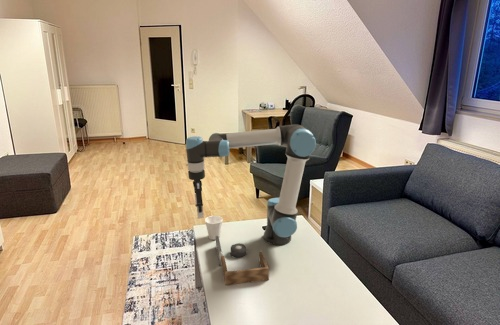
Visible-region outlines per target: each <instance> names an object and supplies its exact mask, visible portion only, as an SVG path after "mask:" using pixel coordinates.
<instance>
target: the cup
mask: <svg viewBox="0 0 500 325" xmlns="http://www.w3.org/2000/svg"><path fill="white" fill-rule="evenodd" d="M223 221H224V220H223V217H222V216H220V215H210V216H207V217H205V218H204V222H205V226H206V230H207V236H208V238H209V239H210V240H212V241H216V236H219V239H220V237H221V233H222V226H223Z"/></svg>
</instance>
